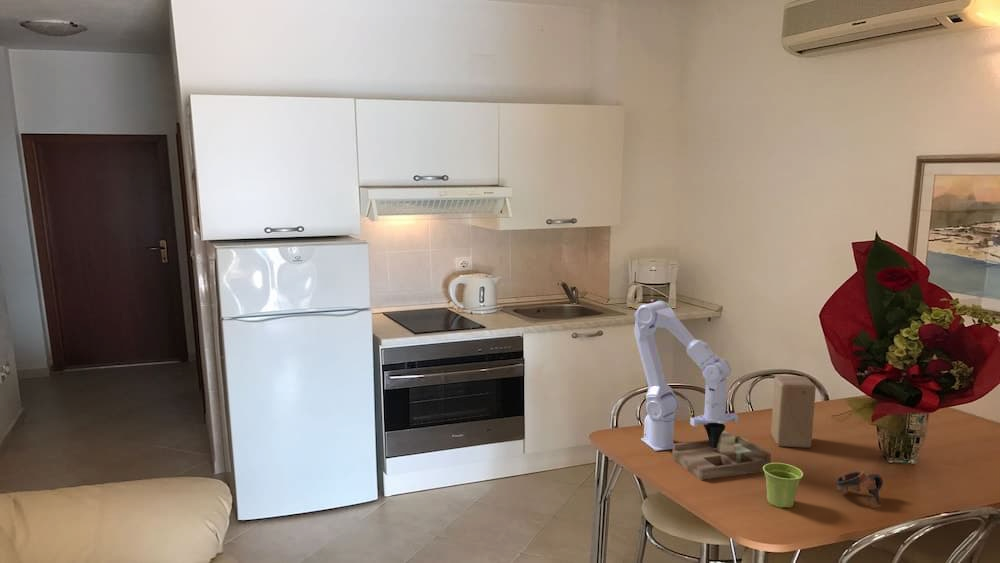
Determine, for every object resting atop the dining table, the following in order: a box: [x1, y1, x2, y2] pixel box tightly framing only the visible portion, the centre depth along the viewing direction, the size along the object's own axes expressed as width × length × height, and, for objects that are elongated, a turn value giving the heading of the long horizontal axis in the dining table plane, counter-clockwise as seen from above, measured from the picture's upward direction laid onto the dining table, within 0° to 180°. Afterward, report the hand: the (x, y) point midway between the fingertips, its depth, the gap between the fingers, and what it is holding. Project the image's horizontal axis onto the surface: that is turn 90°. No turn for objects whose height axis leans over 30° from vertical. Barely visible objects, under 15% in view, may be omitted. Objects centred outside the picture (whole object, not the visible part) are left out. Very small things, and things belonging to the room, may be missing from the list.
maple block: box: [714, 430, 735, 453], centre depth 201 cm, size 4×4×4 cm
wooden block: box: [770, 375, 817, 449], centre depth 213 cm, size 10×10×20 cm
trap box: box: [671, 434, 772, 481], centre depth 197 cm, size 15×22×5 cm
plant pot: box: [763, 462, 804, 509], centre depth 174 cm, size 9×9×9 cm
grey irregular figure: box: [835, 470, 884, 509], centre depth 177 cm, size 12×10×8 cm
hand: (712, 447), depth 200 cm, fingers closed
